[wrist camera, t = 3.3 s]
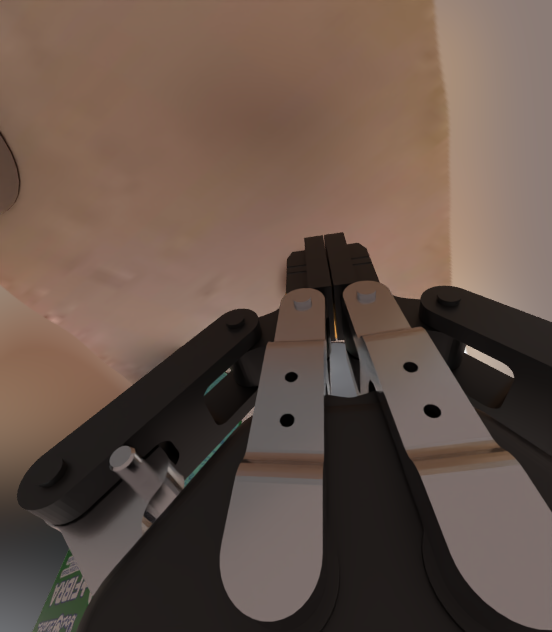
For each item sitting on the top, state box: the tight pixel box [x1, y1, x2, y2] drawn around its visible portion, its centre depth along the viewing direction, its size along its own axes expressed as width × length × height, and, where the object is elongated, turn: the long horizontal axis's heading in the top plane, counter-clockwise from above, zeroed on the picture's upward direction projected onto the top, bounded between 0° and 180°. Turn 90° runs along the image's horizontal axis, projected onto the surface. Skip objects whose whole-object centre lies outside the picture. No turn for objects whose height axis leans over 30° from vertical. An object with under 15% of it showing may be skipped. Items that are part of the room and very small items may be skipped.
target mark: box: [330, 342, 357, 398], centre depth 36 cm, size 13×13×1 cm
